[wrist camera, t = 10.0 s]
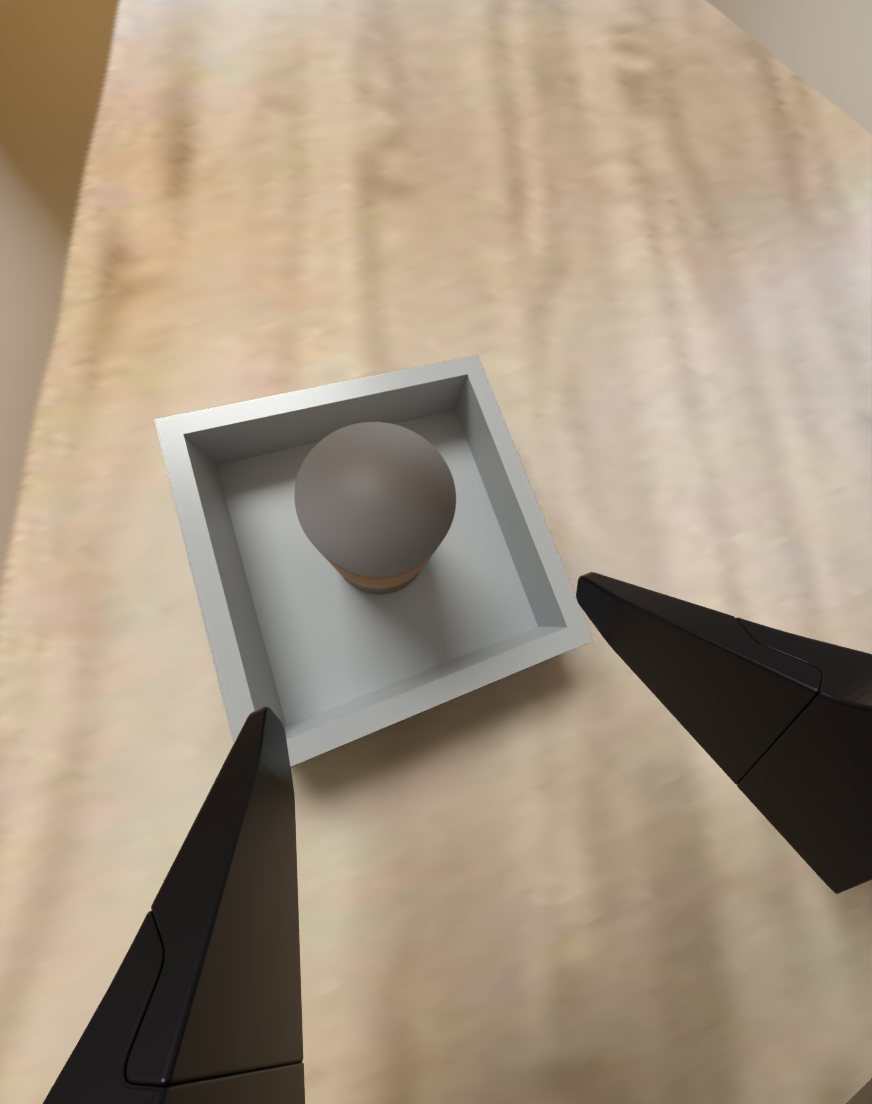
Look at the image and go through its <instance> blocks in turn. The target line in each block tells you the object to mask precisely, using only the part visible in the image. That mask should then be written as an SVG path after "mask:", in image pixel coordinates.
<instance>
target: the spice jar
mask: <svg viewBox="0 0 872 1104" xmlns="http://www.w3.org/2000/svg"><path fill="white" fill-rule="evenodd" d="M294 501H295V508H296V513H297V517H298V520H299V523H300V525H301V527H302V529H303V531H304V533H305V534H306V536H307V538H308V539H309V540H310V542H311V543H312V544H313V545H314V546H315V548H316V549H317V550H318V551H319V552H320V553H321V554H322V555H323V556H324V557H325V558H326V559H327V560H328V561H329V562H330V564H331V565H332V566H333V567H334V568H335V569H336V570H337V571H338V572H339V573H340V574H341V575H342V576H343V577H344V578H345V579H346V580H347V581H348V582H349V583H350V584H351V585H352V586H354V587H355V588H357V589H359V590H361V591H364V592H366V593H371V594H389V593H393V592H396V591H399V590H401V589H403V588H404V587H406V586H407V585H409V584H410V583H411V582H412V581H413V580H414V579H415V578H416V577H417V575H418V574H419V573H420V571H421V570H422V569H423V567H424V566H425V564H426V563H427V562H428V560H429V559H430V558H431V556H432V555H433V553H434V552H435V551H436V549H437V548H438V547H439V545H440V544H441V542H442V541H443V540H444V538H445V537H446V535H447V533H448V531H449V529H450V527H451V524H452V522H453V519H454V514H455V509H456V489H455V484H454V480H453V477H452V474H451V471H450V469H449V467H448V465H447V463H446V461H445V460H444V458H443V457H442V455H441V454H440V453H439V452H438V451H437V449H436V448H435V447H434V446H433V445H432V444H431V443H429V442H428V441H427V440H426V439H424V438H423V437H422V436H420V435H419V434H417V433H415V432H413V431H411V430H409V429H407V428H404V427H402V426H398V425H394V424H391V423H384V422H364V423H357V424H353V425H349V426H346V427H343V428H341V429H339V430H336V431H334V432H332V433H331V434H329V435H328V436H326V437H325V438H323V439H322V440H321V441H320V442H319V443H318V444H316V445H315V447H314V448H313V449H312V450H311V451H310V452H309V454H308V455H307V457H306V458H305V460H304V461H303V463H302V465H301V467H300V470H299V472H298V476H297V479H296V484H295V495H294Z"/></svg>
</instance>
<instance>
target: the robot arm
mask: <svg viewBox="0 0 872 1104" xmlns="http://www.w3.org/2000/svg"><path fill="white" fill-rule="evenodd" d="M576 598H577V602H578V603H579V605H580V606H581V608H582V609H583V610H584V612H585V613H586V614H587V616H588V617H589V619H590V620H591V621H592V623H593V624H594V625H595V627H596V628H597V629H598V631H599V632H600V633H601V635H602V636H603V637H604V639H605V640H606V641H607V643H608V644H609V645H610V646H611V647H612V649H613V650H614V651H615V652H616V653H617V654H618V655H619V656H620V657H621V659H622V660H623V661H624V662H625V663H626V664H627V665H628V666H629V667H630V668H631V670H632V671H633V672H634V673H635V674H636V675H637V676H638V677H639V678H640V679H641V681H642V682H643V683H644V684H645V685H646V686H647V687H648V688H649V689H650V690H651V692H652V693H653V694H654V695H655V696H656V697H657V698H658V699H659V700H660V701H661V703H662V704H663V705H664V706H665V707H666V708H667V709H668V710H669V711H670V713H671V714H672V715H673V716H674V717H675V718H676V719H677V720H678V721H679V722H680V724H681V725H682V726H683V727H684V728H685V729H686V730H687V731H688V732H689V733H690V735H691V736H692V737H693V738H694V739H695V740H696V741H697V742H698V743H699V744H700V746H701V747H702V748H703V749H704V750H705V751H706V752H707V753H708V754H709V755H710V757H711V758H712V759H713V760H714V761H715V762H716V763H717V764H718V765H719V766H720V768H721V769H722V770H723V771H724V772H725V773H726V774H727V775H728V776H729V778H730V779H731V780H732V781H733V782H734V783H735V784H737V787H738V788H739V789H740V790H741V791H742V792H743V793H744V794H745V795H746V797H747V798H748V799H749V800H750V801H751V802H752V803H753V804H754V805H755V806H756V808H757V809H758V810H759V811H760V812H761V813H762V814H763V815H764V816H765V817H766V819H767V820H768V821H769V822H770V823H771V824H772V825H773V826H774V827H775V828H776V830H777V831H778V832H779V833H780V834H781V835H782V836H783V837H784V838H785V839H786V841H787V842H788V843H789V844H790V845H791V846H792V847H793V848H794V849H795V850H796V852H797V853H798V854H799V855H800V856H801V857H802V858H803V859H804V860H805V861H806V863H807V864H808V865H809V866H810V867H811V868H812V869H813V870H814V871H815V872H816V874H817V875H818V876H819V877H820V878H821V879H822V880H823V881H824V882H825V883H826V884H827V885H828V886H829V887H830V888H831V889H832V890H833V891H834V892H835V893H836V894H838V893H841V892H843V891H846V890H848V889H850V888H853V887H855V886H858V885H860V884H862V883H865V882H867V881H870V880H872V654H869V653H865V652H861V651H857V650H853V649H849V648H845V647H841V646H837V645H834V644H830V643H826V642H822V641H818V640H814V639H810V638H806V637H803V636H799V635H795V634H792V633H788V632H784V631H781V630H777V629H774V628H770V627H767V626H764V625H760V624H757V623H754V622H751V621H747V620H744V619H741V618H735V617H734V616H731V615H728V614H725V613H722V612H718V611H715V610H712V609H709V608H706V607H703V606H699V605H696V604H693V603H690V602H687V601H683V600H680V599H677V598H674V597H671V596H668V595H664V594H661V593H658V592H655V591H652V590H648V589H645V588H642V587H639V586H636V585H632V584H629V583H626V582H623V581H620V580H617V579H613V578H610V577H607V576H604V575H601V574H597V573H594V572H590V573H587V574H585V575H582V576H580V577H579V579H578V584H577V593H576ZM151 910H152V911H149V912H148V913H147V915H146V917H145V919H144V921H143V923H142V925H141V927H140V929H139V931H138V933H137V935H136V937H135V939H134V941H133V943H132V945H131V947H130V948H129V950H128V952H127V954H126V956H125V958H124V960H123V962H122V964H121V966H120V967H119V969H118V971H117V973H116V975H115V977H114V979H113V981H112V983H111V984H110V986H109V988H108V990H107V992H106V994H105V995H104V997H103V999H102V1001H101V1002H100V1004H99V1006H98V1008H97V1010H96V1011H95V1013H94V1015H93V1017H92V1018H91V1020H90V1022H89V1024H88V1026H87V1027H86V1029H85V1031H84V1033H83V1034H82V1036H81V1038H80V1040H79V1042H78V1043H77V1045H76V1047H75V1049H74V1050H73V1052H72V1054H71V1055H70V1057H69V1059H68V1061H67V1062H66V1064H65V1066H64V1068H63V1069H62V1071H61V1073H60V1074H59V1076H58V1078H57V1080H56V1081H55V1083H54V1085H53V1087H52V1088H51V1090H50V1092H49V1093H48V1095H47V1097H46V1099H45V1100H44V1102H43V1104H305V1088H304V1064H303V1062H302V1061H303V1034H302V1004H301V974H300V944H299V913H298V883H297V853H296V823H295V798H294V788H293V780H292V774H291V767H290V760H289V753H288V747H287V740H286V733H285V728H284V725H283V723H282V722H281V720H280V719H279V718H278V717H277V716H276V714H275V713H274V712H273V711H272V709H271V708H270V707H267V706H266V707H263V708H260V709H258V710H256V711H253V712H251V713H250V714H249V716H248V717H247V719H246V721H245V723H244V725H243V727H242V729H241V731H240V733H239V735H238V737H237V739H236V741H235V743H234V745H233V746H232V748H231V750H230V752H229V754H228V756H227V758H226V760H225V762H224V764H223V766H222V768H221V770H220V772H219V774H218V776H217V778H216V780H215V782H214V784H213V786H212V788H211V790H210V792H209V794H208V796H207V798H206V800H205V802H204V804H203V806H202V807H201V809H200V811H199V813H198V815H197V817H196V819H195V821H194V823H193V825H192V827H191V829H190V831H189V833H188V835H187V837H186V839H185V841H184V843H183V845H182V847H181V849H180V851H179V853H178V855H177V857H176V859H175V861H174V863H173V865H172V866H171V868H170V870H169V872H168V874H167V876H166V878H165V880H164V882H163V884H162V886H161V888H160V890H159V892H158V894H157V896H156V898H155V900H154V902H153V904H152V906H151ZM846 1104H872V1079H871V1080H870V1081H869V1082H868V1083H867V1084H866V1085H865V1086H864V1087H863V1088H862V1089H861V1090H860V1091H859V1092H858V1093H857V1094H856V1095H855V1096H853V1097H852V1098H851V1099H850V1100H849V1101H848V1102H847V1103H846Z"/></svg>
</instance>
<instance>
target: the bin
mask: <svg viewBox="0 0 872 1104" xmlns="http://www.w3.org/2000/svg"><path fill="white" fill-rule="evenodd" d="M154 421H155V425H156V429H157V433H158V437H159V441H160V445H161V449H162V453H163V458H164V462H165V466H166V470H167V474H168V478H169V482H170V486H171V490H172V494H173V498H174V502H175V506H176V511H177V515H178V519H179V523H180V527H181V531H182V535H183V539H184V543H185V547H186V551H187V555H188V559H189V564H190V568H191V572H192V576H193V580H194V584H195V588H196V592H197V596H198V600H199V604H200V608H201V612H202V617H203V621H204V625H205V629H206V633H207V637H208V641H209V645H210V649H211V653H212V657H213V661H214V665H215V669H216V674H217V678H218V682H219V686H220V690H221V694H222V698H223V702H224V706H225V710H226V714H227V718H228V722H229V727H230V731H231V735H232V739H233V743H235V741H236V739H237V737H238V735H239V733H240V731H241V729H242V727H243V725H244V723H245V721H246V719H247V717H248V716H249V714H250V713H251V712H253V711H256V710H258V709H260V708H263V707H266V706H267V707H270V708H271V709H272V711H273V712H274V713H275V714H276V716H277V717H278V718H279V719H280V720H281V722H282V723H283V725H284V728H285V733H286V740H287V747H288V753H289V760H290V767H291V766H294V765H296V764H298V763H301V762H303V761H306V760H308V759H310V758H313V757H315V756H318V755H320V754H322V753H325V752H327V751H329V750H332V749H334V748H337V747H339V746H341V745H344V744H346V743H349V742H351V741H353V740H356V739H358V738H361V737H363V736H365V735H368V734H370V733H373V732H375V731H377V730H380V729H382V728H385V727H387V726H389V725H392V724H394V723H397V722H399V721H401V720H404V719H406V718H408V717H411V716H413V715H416V714H418V713H420V712H423V711H425V710H428V709H430V708H432V707H435V706H437V705H440V704H442V703H444V702H447V701H449V700H452V699H454V698H456V697H459V696H461V695H464V694H466V693H468V692H471V691H473V690H476V689H478V688H480V687H483V686H485V685H487V684H490V683H492V682H495V681H497V680H499V679H502V678H504V677H507V676H509V675H511V674H514V673H516V672H519V671H521V670H523V669H526V668H528V667H531V666H533V665H535V664H538V663H540V662H543V661H545V660H547V659H550V658H552V657H554V656H557V655H559V654H562V653H564V652H566V651H569V650H571V649H574V648H576V647H578V646H581V645H583V644H586V643H588V642H590V641H593V638H592V636H591V633H590V631H589V628H588V626H587V623H586V621H585V618H584V616H583V613H582V611H581V608H580V606H579V604H578V602H577V599H576V596H575V594H574V591H573V589H572V586H571V584H570V581H569V579H568V576H567V574H566V571H565V569H564V566H563V564H562V561H561V559H560V557H559V554H558V552H557V549H556V547H555V544H554V542H553V539H552V537H551V534H550V532H549V529H548V527H547V524H546V522H545V519H544V517H543V514H542V512H541V509H540V507H539V505H538V502H537V500H536V497H535V495H534V492H533V490H532V487H531V485H530V482H529V480H528V477H527V475H526V472H525V470H524V467H523V465H522V462H521V460H520V458H519V455H518V453H517V450H516V448H515V445H514V443H513V440H512V438H511V435H510V433H509V430H508V428H507V425H506V423H505V420H504V418H503V415H502V413H501V411H500V408H499V406H498V403H497V401H496V398H495V396H494V393H493V391H492V388H491V386H490V383H489V381H488V378H487V376H486V373H485V371H484V368H483V366H482V364H481V361H480V359H479V356H478V355H474V356H469V357H464V358H459V359H454V360H449V361H444V362H439V363H434V364H429V365H424V366H419V367H414V368H409V369H404V370H399V371H394V372H389V373H384V374H379V375H374V376H369V377H364V378H359V379H354V380H349V381H344V382H339V383H334V384H329V385H324V386H319V387H314V388H309V389H304V390H299V391H294V392H289V393H284V394H279V395H274V396H269V397H264V398H259V399H254V400H249V401H244V402H239V403H234V404H229V405H223V406H218V407H213V408H208V409H203V410H198V411H193V412H188V413H183V414H178V415H173V416H168V417H163V418H158V419H154ZM364 422H384V423H391V424H394V425H398V426H402V427H404V428H407V429H409V430H411V431H413V432H415V433H417V434H419V435H420V436H422V437H423V438H424V439H426V440H427V441H428V442H429V443H431V444H432V445H433V446H434V447H435V448H436V449H437V451H438V452H439V453H440V454H441V455H442V457H443V458H444V460H445V461H446V463H447V465H448V467H449V469H450V471H451V474H452V477H453V480H454V484H455V489H456V509H455V514H454V519H453V522H452V524H451V527H450V529H449V531H448V533H447V535H446V537H445V538H444V540H443V541H442V542H441V544H440V545H439V547H438V548H437V549H436V551H435V552H434V553H433V555H432V556H431V558H430V559H429V560H428V562H427V563H426V564H425V566H424V567H423V569H422V570H421V571H420V573H419V574H418V575H417V577H416V578H415V579H414V580H413V581H412V582H411V583H410V584H409V585H407V586H406V587H404V588H403V589H401V590H399V591H396V592H393V593H389V594H371V593H366V592H364V591H361V590H359V589H357V588H355V587H354V586H352V585H351V584H350V583H349V582H348V581H347V580H346V579H345V578H344V577H343V576H342V575H341V574H340V573H339V572H338V571H337V570H336V569H335V568H334V567H333V566H332V565H331V564H330V562H329V561H328V560H327V559H326V558H325V557H324V556H323V555H322V554H321V553H320V552H319V551H318V550H317V549H316V548H315V546H314V545H313V544H312V543H311V542H310V540H309V539H308V538H307V536H306V534H305V533H304V531H303V529H302V527H301V525H300V523H299V520H298V517H297V513H296V508H295V501H294V495H295V484H296V479H297V476H298V472H299V470H300V467H301V465H302V463H303V461H304V460H305V458H306V457H307V455H308V454H309V452H310V451H311V450H312V449H313V448H314V447H315V445H316V444H318V443H319V442H320V441H321V440H322V439H323V438H325V437H326V436H328V435H329V434H331V433H332V432H334V431H336V430H339V429H341V428H343V427H346V426H349V425H353V424H357V423H364Z"/></svg>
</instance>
